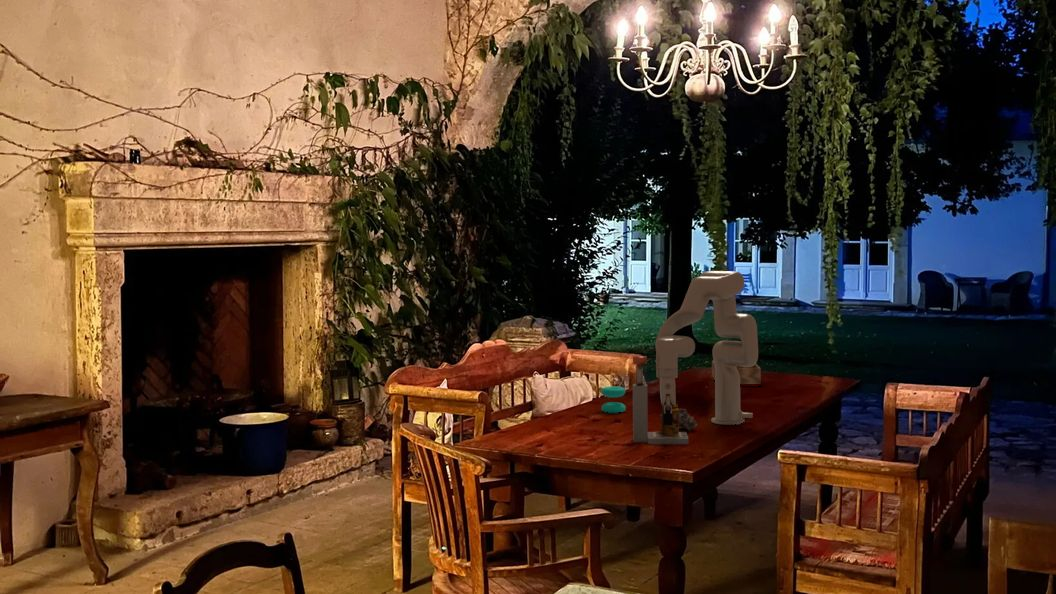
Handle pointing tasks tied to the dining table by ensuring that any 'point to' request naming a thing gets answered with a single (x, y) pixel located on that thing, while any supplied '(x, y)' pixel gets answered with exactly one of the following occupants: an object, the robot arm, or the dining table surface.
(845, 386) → the dining table surface
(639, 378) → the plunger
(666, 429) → the condiment
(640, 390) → the grey l-shaped piece
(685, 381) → the dining table surface
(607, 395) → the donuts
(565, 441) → the dining table surface
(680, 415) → the mineral specimen
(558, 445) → the dining table surface
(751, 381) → the toy crate
